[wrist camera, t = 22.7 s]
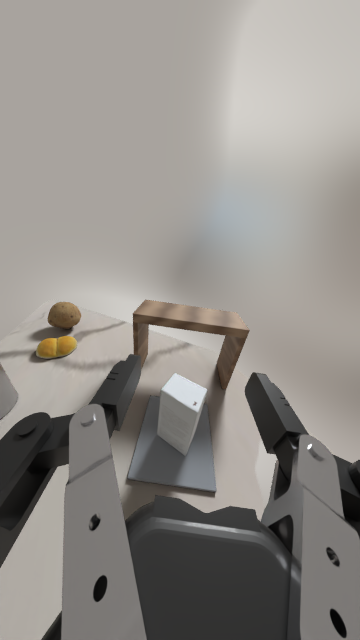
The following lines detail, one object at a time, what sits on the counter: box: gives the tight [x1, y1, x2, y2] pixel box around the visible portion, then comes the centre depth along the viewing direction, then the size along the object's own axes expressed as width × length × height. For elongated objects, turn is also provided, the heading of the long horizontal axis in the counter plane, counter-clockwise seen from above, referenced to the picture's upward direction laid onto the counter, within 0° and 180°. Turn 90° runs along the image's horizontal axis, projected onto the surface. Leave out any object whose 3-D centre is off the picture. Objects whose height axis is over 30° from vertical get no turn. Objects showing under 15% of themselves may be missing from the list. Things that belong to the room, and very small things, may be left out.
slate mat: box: [128, 395, 216, 492], centre depth 27 cm, size 13×13×1 cm
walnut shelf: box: [133, 300, 249, 390], centre depth 37 cm, size 24×9×18 cm, turn 86°
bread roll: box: [36, 336, 77, 359], centre depth 41 cm, size 8×9×4 cm
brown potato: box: [48, 302, 81, 329], centre depth 50 cm, size 9×9×10 cm
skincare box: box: [157, 373, 207, 456], centre depth 24 cm, size 6×4×12 cm
